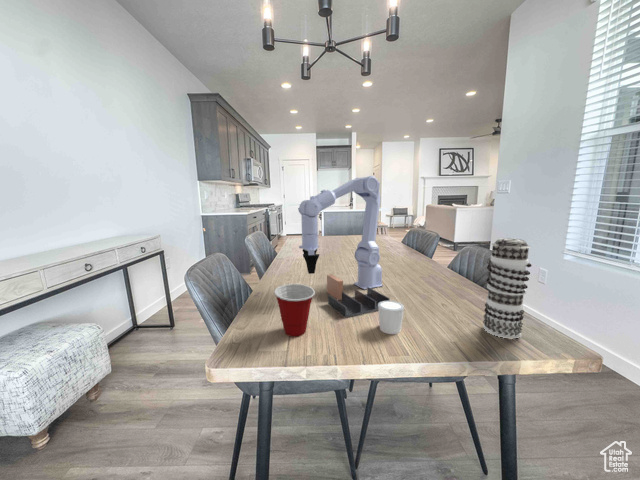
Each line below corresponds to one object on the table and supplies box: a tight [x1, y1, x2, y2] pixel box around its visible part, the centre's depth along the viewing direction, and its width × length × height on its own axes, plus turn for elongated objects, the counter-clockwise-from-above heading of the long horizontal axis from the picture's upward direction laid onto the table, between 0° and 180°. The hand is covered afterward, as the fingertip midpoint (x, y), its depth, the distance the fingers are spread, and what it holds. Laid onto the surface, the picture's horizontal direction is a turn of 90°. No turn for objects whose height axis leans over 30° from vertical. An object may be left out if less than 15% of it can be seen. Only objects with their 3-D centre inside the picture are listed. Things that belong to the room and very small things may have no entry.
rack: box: [327, 287, 391, 319], centre depth 86 cm, size 17×12×3 cm
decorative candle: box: [482, 237, 532, 339], centre depth 67 cm, size 9×9×25 cm
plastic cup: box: [274, 283, 316, 338], centre depth 69 cm, size 11×11×12 cm
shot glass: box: [377, 300, 405, 335], centre depth 71 cm, size 7×7×7 cm
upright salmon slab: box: [326, 273, 344, 300], centre depth 96 cm, size 2×9×7 cm, turn 25°
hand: (310, 270), depth 94 cm, fingers open, 7 cm apart
